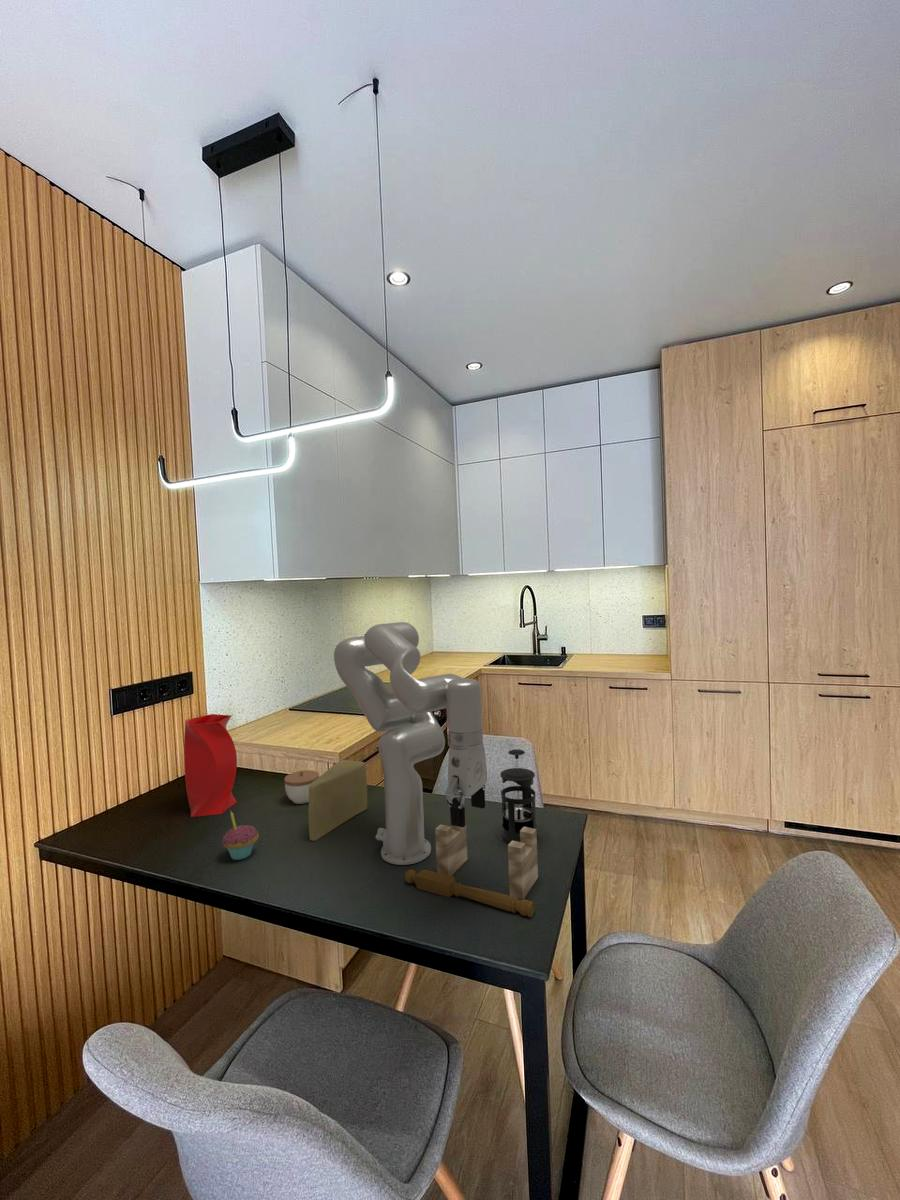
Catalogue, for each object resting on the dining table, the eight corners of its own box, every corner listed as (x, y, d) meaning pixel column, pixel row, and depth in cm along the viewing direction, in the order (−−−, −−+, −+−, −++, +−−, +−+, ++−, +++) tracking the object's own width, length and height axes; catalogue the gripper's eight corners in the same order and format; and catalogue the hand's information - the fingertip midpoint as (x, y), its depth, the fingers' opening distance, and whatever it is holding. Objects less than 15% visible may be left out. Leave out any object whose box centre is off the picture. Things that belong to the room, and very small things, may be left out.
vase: (244, 804, 162) (240, 716, 161) (201, 822, 149) (197, 728, 149) (216, 795, 170) (212, 712, 169) (173, 812, 158) (169, 722, 157)
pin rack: (437, 875, 117) (435, 828, 116) (456, 856, 125) (454, 812, 125) (523, 900, 106) (521, 848, 106) (538, 877, 115) (536, 829, 114)
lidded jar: (314, 806, 158) (313, 776, 158) (280, 807, 158) (279, 777, 158) (323, 792, 168) (322, 764, 168) (291, 793, 169) (290, 765, 168)
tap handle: (529, 906, 100) (402, 872, 114) (530, 921, 100) (402, 885, 114) (534, 897, 103) (409, 865, 117) (535, 912, 103) (409, 878, 117)
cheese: (327, 844, 134) (324, 788, 133) (296, 839, 137) (294, 784, 137) (369, 809, 154) (367, 760, 154) (341, 805, 158) (339, 757, 157)
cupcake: (224, 867, 124) (221, 819, 124) (222, 852, 132) (219, 806, 131) (261, 857, 128) (259, 810, 128) (257, 843, 136) (255, 798, 135)
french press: (527, 851, 126) (524, 759, 125) (494, 842, 131) (491, 754, 131) (545, 831, 136) (542, 746, 135) (514, 823, 141) (511, 741, 140)
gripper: (462, 751, 99) (466, 837, 100) (497, 728, 115) (500, 803, 115) (429, 746, 103) (433, 830, 103) (467, 725, 118) (470, 798, 118)
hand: (468, 816), depth 109 cm, fingers open, 9 cm apart
